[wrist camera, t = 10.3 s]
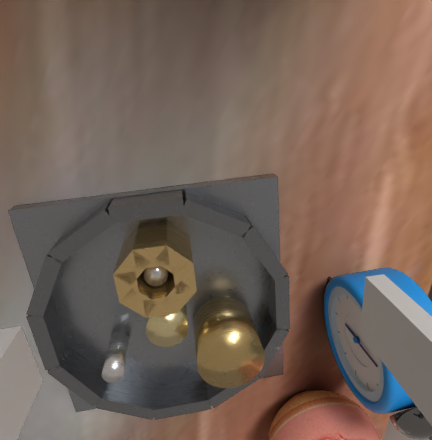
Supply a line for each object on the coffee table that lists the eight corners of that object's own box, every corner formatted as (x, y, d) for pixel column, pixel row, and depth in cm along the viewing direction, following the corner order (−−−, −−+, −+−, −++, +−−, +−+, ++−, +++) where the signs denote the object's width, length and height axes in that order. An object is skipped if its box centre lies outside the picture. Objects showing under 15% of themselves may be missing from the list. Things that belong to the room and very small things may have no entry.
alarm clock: (320, 254, 37) (411, 348, 23) (372, 245, 38) (491, 331, 24) (321, 346, 42) (397, 469, 28) (367, 336, 42) (464, 453, 28)
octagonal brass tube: (119, 225, 31) (108, 253, 26) (186, 217, 32) (190, 242, 26) (131, 284, 34) (123, 321, 28) (194, 275, 34) (199, 309, 29)
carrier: (15, 205, 31) (-30, 236, 24) (273, 173, 33) (300, 193, 26) (79, 400, 40) (60, 465, 33) (279, 365, 42) (301, 418, 35)
